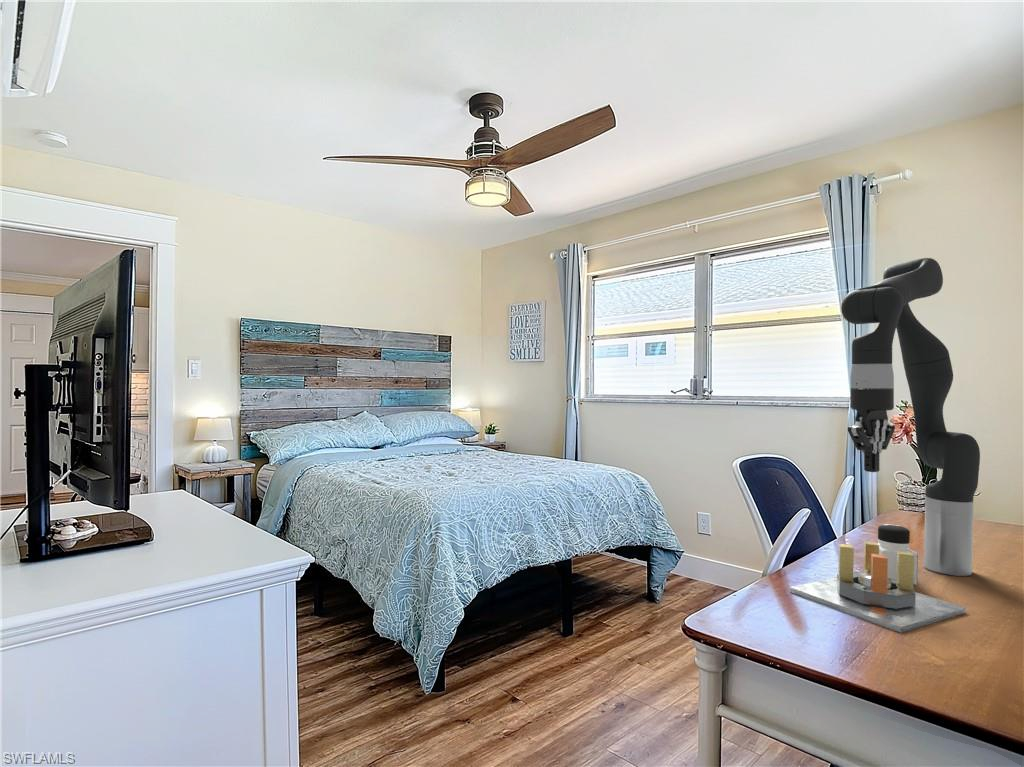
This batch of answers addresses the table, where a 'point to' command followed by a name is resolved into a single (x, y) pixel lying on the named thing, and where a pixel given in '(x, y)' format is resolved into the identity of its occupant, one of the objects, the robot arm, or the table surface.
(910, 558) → the octagonal frame
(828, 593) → the base plate
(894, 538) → the medicine bottle
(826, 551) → the table surface
